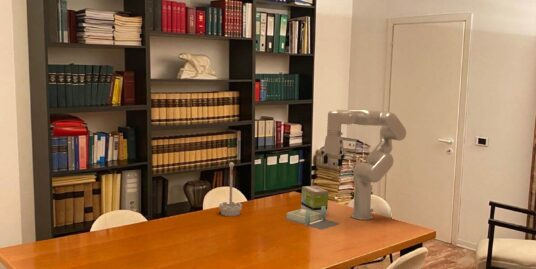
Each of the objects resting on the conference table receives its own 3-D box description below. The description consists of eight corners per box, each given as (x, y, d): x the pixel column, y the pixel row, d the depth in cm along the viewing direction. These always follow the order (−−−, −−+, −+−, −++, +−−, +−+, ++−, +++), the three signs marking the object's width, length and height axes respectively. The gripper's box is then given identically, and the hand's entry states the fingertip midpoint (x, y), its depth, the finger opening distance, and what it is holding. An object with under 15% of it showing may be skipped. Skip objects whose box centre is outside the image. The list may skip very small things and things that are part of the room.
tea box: (300, 210, 311) (301, 186, 310) (314, 209, 316) (316, 185, 314) (312, 216, 298) (314, 191, 296) (327, 215, 302) (329, 190, 301)
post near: (307, 224, 284) (307, 209, 283) (310, 225, 282) (311, 210, 281) (304, 225, 282) (304, 210, 281) (307, 226, 280) (308, 211, 279)
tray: (301, 214, 302) (302, 208, 302) (320, 219, 293) (320, 213, 293) (286, 218, 292) (286, 212, 292) (305, 223, 283) (305, 217, 283)
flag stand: (217, 211, 306) (217, 160, 302) (238, 209, 310) (239, 160, 306) (221, 217, 293) (222, 164, 290) (244, 215, 297) (245, 163, 294)
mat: (302, 214, 304) (302, 213, 304) (340, 224, 286) (340, 223, 286) (283, 219, 292) (283, 218, 292) (321, 230, 273) (321, 229, 273)
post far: (322, 219, 294) (323, 205, 293) (326, 220, 292) (326, 206, 291) (320, 220, 292) (320, 206, 291) (323, 221, 290) (324, 207, 289)
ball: (302, 216, 296) (302, 208, 296) (309, 218, 293) (309, 209, 292) (297, 218, 292) (297, 209, 292) (304, 220, 289) (304, 211, 289)
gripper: (351, 134, 280) (349, 166, 282) (325, 131, 292) (324, 162, 294) (343, 135, 274) (341, 167, 276) (317, 132, 286) (315, 163, 288)
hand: (332, 164), depth 285 cm, fingers open, 9 cm apart
